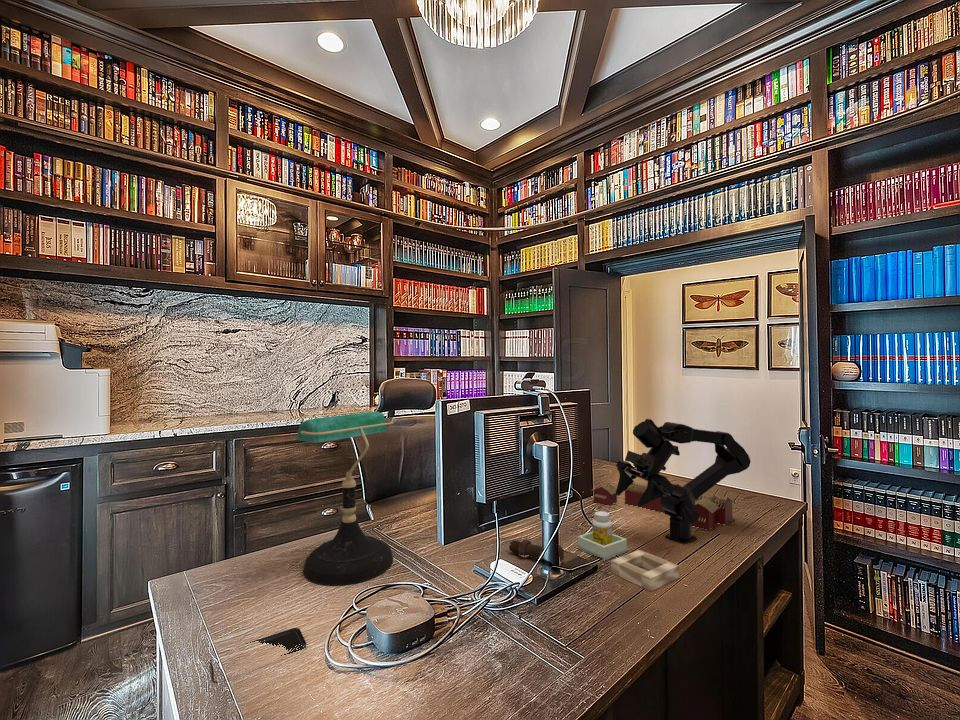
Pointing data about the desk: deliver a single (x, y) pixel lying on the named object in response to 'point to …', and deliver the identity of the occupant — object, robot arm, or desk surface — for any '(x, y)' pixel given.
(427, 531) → the desk surface
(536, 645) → the desk surface
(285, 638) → the phone
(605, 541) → the supplement bottle
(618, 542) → the tray
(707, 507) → the toy houses
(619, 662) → the desk surface
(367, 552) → the banker's lamp
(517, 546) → the brown long lumpy piece
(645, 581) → the socket block
